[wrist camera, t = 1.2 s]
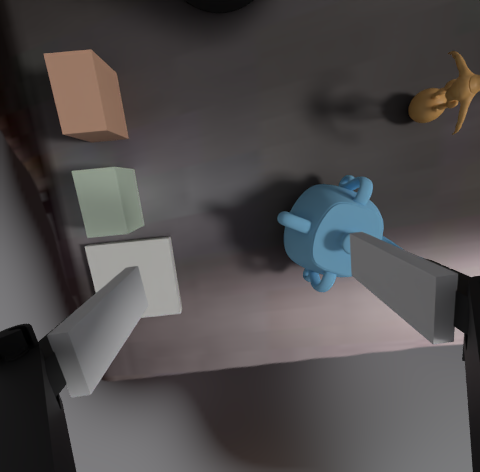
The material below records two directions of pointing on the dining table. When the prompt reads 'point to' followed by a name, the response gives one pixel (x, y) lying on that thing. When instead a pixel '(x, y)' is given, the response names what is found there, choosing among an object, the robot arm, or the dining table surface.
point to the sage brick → (108, 201)
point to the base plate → (150, 266)
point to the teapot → (329, 228)
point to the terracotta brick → (86, 96)
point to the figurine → (446, 96)
